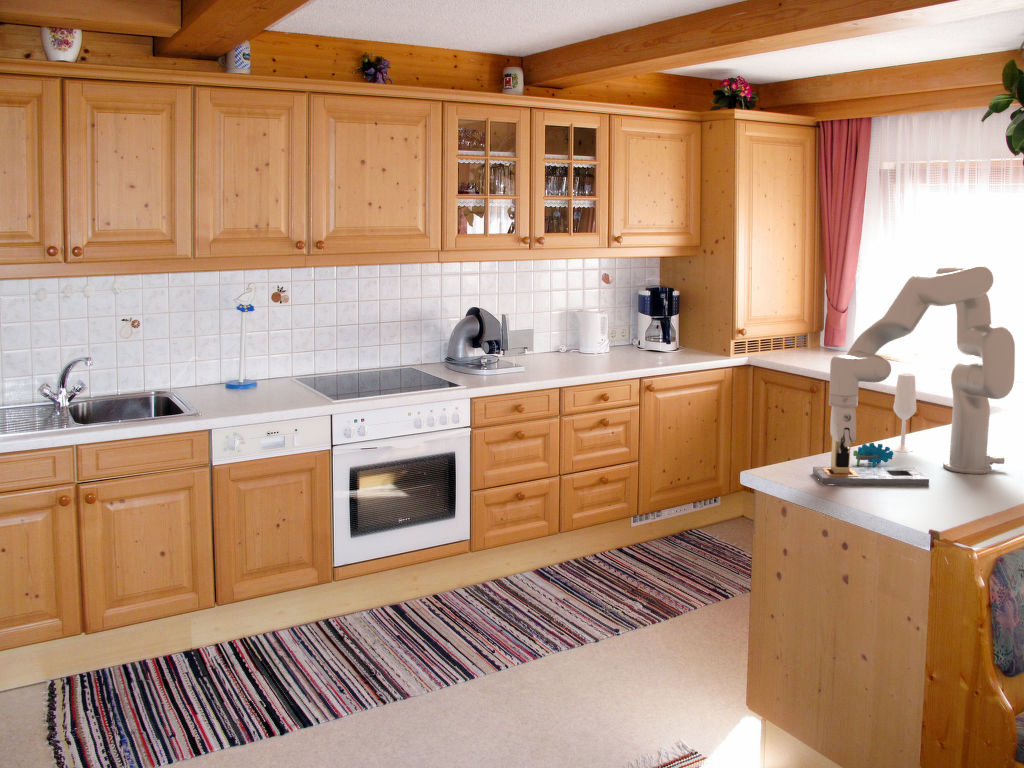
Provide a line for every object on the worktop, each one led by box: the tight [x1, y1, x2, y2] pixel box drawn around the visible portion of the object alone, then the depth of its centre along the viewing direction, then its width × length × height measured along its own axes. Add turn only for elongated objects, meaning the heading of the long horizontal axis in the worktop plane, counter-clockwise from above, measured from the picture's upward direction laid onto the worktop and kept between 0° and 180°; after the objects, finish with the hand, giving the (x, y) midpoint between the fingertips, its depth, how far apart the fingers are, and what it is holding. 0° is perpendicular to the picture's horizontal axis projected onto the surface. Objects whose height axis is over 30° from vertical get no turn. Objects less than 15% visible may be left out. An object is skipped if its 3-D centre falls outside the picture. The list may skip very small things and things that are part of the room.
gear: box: [852, 442, 894, 467], centre depth 271 cm, size 11×6×10 cm
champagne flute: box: [890, 372, 917, 453], centre depth 289 cm, size 7×7×24 cm
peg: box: [830, 436, 852, 475], centre depth 257 cm, size 4×4×12 cm
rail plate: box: [812, 466, 930, 487], centre depth 257 cm, size 28×12×2 cm, turn 84°
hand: (840, 464), depth 257 cm, fingers closed on peg, 3 cm apart
